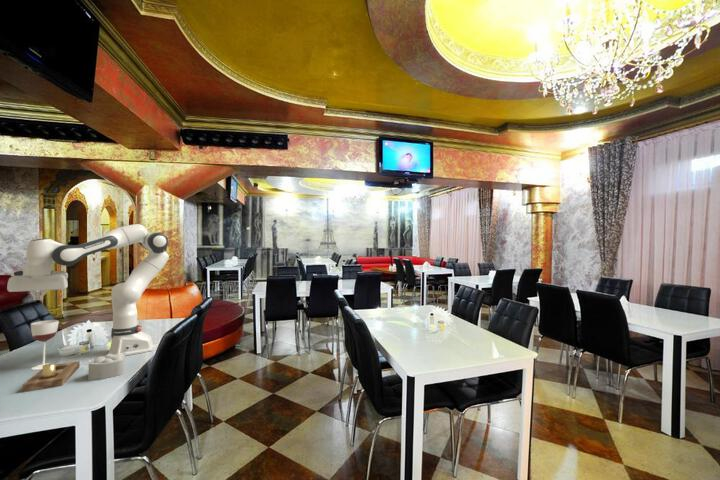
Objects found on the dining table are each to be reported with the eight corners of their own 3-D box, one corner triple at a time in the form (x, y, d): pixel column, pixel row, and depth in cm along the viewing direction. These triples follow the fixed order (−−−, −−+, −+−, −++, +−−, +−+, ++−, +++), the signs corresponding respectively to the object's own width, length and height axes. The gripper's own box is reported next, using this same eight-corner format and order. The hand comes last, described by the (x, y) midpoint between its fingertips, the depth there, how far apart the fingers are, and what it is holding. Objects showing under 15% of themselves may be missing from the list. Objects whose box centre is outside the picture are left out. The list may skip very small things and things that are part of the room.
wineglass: (29, 366, 147) (31, 322, 148) (57, 361, 154) (58, 318, 155) (29, 371, 141) (30, 325, 142) (57, 365, 148) (58, 322, 149)
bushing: (57, 380, 133) (57, 362, 133) (52, 384, 129) (52, 365, 129) (45, 381, 131) (45, 363, 131) (40, 386, 127) (40, 367, 127)
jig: (79, 367, 147) (79, 361, 147) (62, 385, 128) (62, 378, 128) (45, 372, 141) (46, 365, 141) (22, 392, 122) (22, 384, 122)
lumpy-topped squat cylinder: (124, 375, 139) (124, 356, 139) (86, 382, 131) (87, 363, 131) (124, 367, 147) (125, 350, 147) (89, 374, 139) (90, 356, 139)
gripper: (70, 270, 152) (69, 297, 151) (12, 271, 142) (11, 300, 142) (65, 271, 146) (64, 299, 146) (5, 272, 136) (4, 302, 136)
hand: (38, 299), depth 144 cm, fingers closed
